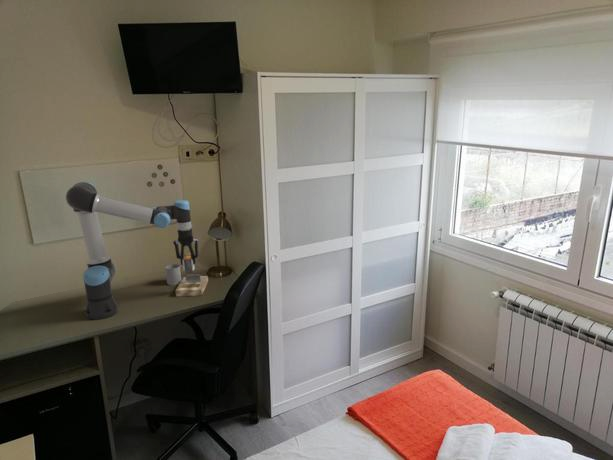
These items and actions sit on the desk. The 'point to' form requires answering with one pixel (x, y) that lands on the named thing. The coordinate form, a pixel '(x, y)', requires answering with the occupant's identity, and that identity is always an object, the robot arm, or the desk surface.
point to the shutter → (193, 279)
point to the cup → (173, 274)
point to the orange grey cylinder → (188, 263)
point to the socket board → (191, 288)
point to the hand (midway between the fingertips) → (189, 269)
